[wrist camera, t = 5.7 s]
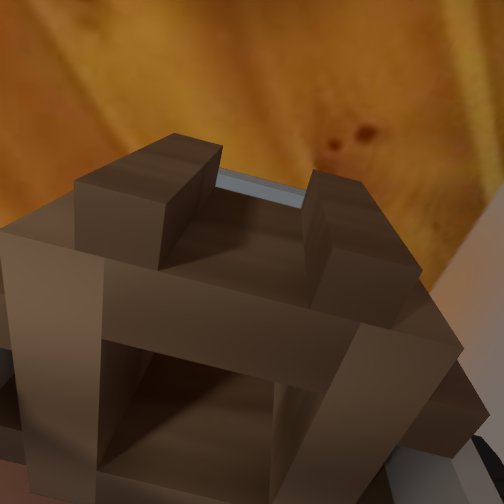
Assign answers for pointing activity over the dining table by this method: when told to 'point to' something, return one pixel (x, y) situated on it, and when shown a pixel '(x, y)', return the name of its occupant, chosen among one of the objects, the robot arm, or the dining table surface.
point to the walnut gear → (219, 341)
